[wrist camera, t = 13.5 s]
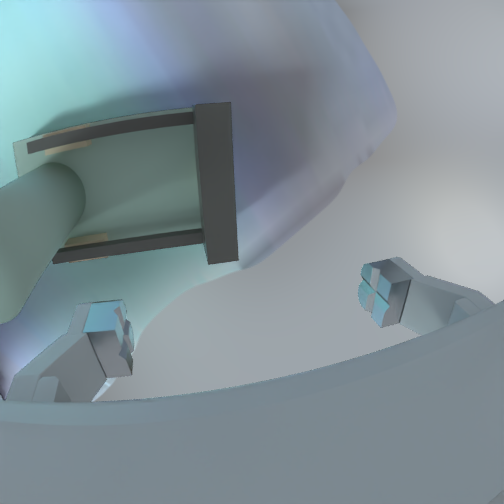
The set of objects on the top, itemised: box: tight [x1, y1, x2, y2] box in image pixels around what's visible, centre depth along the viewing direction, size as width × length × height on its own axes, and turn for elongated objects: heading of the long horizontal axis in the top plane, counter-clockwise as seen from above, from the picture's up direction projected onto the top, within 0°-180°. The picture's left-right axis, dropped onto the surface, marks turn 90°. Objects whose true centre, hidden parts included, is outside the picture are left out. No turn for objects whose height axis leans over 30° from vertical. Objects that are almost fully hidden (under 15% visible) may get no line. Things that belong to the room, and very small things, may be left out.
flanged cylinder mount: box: [0, 107, 202, 324], centre depth 21 cm, size 12×20×18 cm, turn 92°
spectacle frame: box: [26, 102, 239, 265], centre depth 22 cm, size 12×16×4 cm
